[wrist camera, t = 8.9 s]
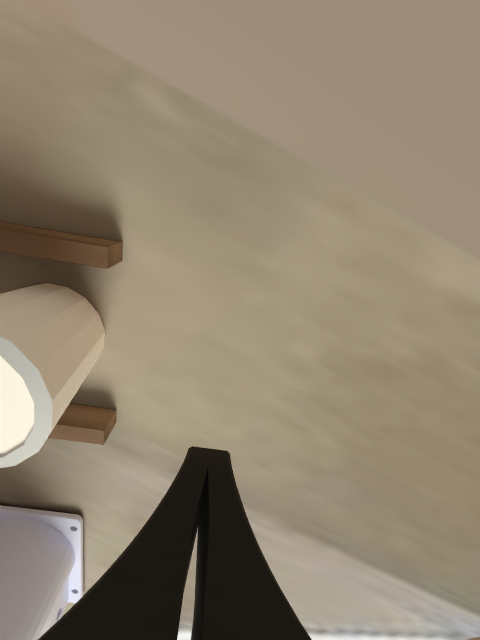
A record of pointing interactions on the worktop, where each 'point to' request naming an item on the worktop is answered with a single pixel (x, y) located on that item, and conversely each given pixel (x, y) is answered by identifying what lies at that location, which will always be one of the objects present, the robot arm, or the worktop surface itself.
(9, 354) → the white cylinder
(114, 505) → the worktop surface
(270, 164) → the worktop surface
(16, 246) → the walnut bay
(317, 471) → the worktop surface
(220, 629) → the robot arm
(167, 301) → the worktop surface
